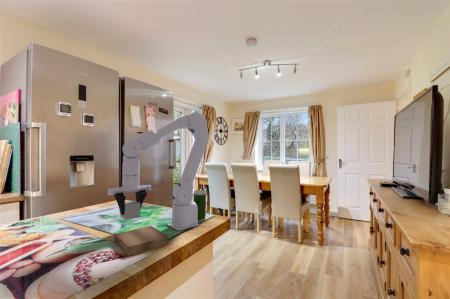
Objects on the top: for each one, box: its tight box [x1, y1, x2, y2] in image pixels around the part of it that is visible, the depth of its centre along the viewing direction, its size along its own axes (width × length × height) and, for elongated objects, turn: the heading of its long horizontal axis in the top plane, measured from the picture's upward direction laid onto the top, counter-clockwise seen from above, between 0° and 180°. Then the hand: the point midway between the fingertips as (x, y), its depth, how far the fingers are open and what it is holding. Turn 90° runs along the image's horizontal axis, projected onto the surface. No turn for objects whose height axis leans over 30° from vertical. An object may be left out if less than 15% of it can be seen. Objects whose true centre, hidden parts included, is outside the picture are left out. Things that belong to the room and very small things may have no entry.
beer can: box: [192, 189, 207, 222], centre depth 94 cm, size 5×5×12 cm
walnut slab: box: [114, 225, 169, 257], centre depth 70 cm, size 12×12×3 cm
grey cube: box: [120, 200, 141, 221], centre depth 79 cm, size 5×5×5 cm
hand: (130, 212), depth 79 cm, fingers closed on grey cube, 5 cm apart
